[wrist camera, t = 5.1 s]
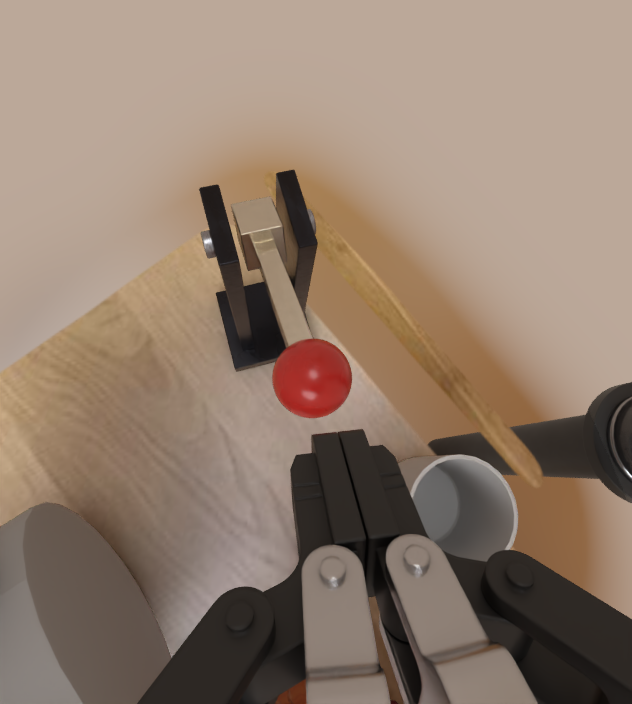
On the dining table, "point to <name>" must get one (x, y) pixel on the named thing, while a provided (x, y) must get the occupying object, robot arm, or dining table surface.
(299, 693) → the mug
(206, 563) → the dining table surface
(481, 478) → the cup
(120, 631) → the alarm clock
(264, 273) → the power lever
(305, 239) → the switch bracket
